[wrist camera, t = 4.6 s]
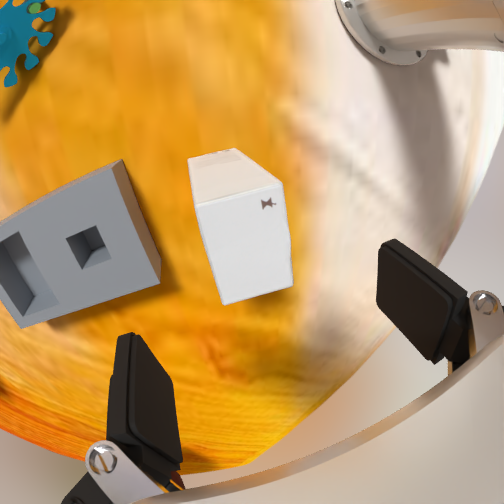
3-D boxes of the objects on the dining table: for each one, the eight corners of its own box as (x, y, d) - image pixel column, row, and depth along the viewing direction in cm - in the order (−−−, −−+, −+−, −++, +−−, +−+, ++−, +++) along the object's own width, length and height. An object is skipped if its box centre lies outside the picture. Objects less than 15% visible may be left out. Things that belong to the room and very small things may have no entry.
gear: (0, 115, 14) (-74, 70, 4) (-2, 97, 15) (-61, 58, 6) (88, 14, 13) (28, -50, 4) (73, 12, 15) (22, -39, 5)
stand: (122, 158, 20) (111, 168, 17) (161, 259, 26) (160, 283, 22) (-11, 229, 19) (-30, 246, 15) (32, 305, 24) (21, 328, 20)
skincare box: (185, 158, 22) (191, 201, 12) (235, 146, 23) (286, 179, 12) (201, 223, 25) (222, 309, 15) (247, 212, 26) (297, 286, 15)
